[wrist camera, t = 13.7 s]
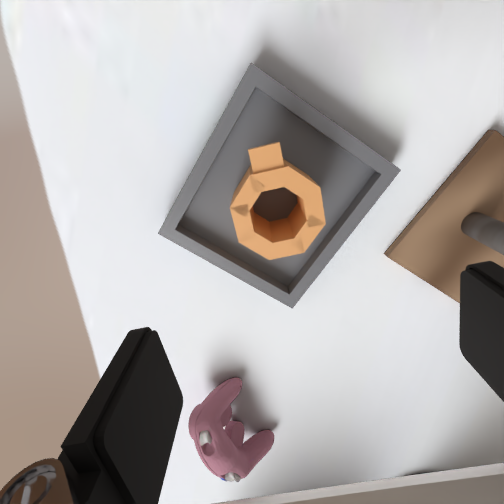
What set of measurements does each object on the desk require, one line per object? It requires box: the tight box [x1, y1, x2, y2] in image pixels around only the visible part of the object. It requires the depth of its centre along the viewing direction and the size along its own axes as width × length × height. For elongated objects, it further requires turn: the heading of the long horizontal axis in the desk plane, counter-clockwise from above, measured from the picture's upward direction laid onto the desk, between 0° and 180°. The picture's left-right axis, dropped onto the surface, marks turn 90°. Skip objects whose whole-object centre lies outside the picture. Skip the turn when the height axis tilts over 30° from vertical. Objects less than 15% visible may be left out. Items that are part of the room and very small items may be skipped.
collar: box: [230, 142, 326, 260], centre depth 24 cm, size 6×8×5 cm
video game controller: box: [189, 377, 274, 482], centre depth 34 cm, size 10×5×7 cm, turn 25°
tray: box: [158, 63, 401, 308], centre depth 26 cm, size 13×14×2 cm
